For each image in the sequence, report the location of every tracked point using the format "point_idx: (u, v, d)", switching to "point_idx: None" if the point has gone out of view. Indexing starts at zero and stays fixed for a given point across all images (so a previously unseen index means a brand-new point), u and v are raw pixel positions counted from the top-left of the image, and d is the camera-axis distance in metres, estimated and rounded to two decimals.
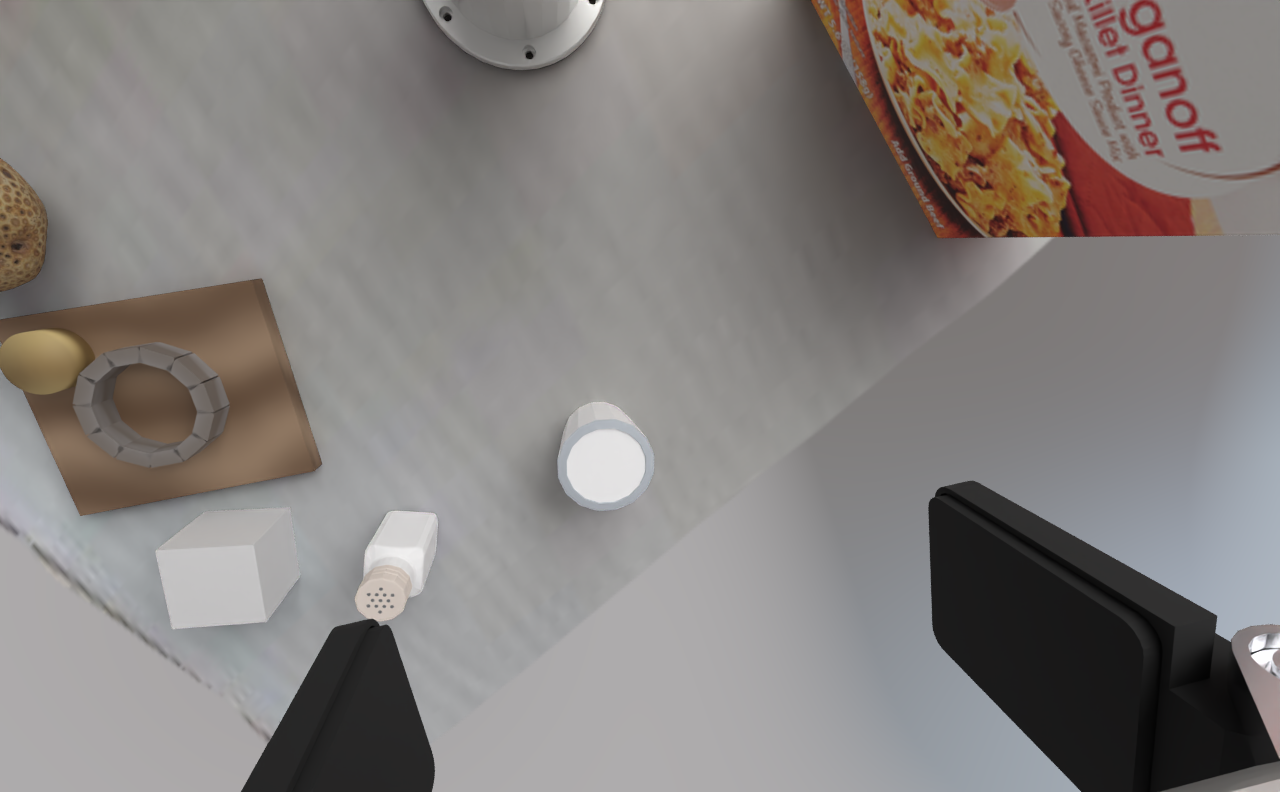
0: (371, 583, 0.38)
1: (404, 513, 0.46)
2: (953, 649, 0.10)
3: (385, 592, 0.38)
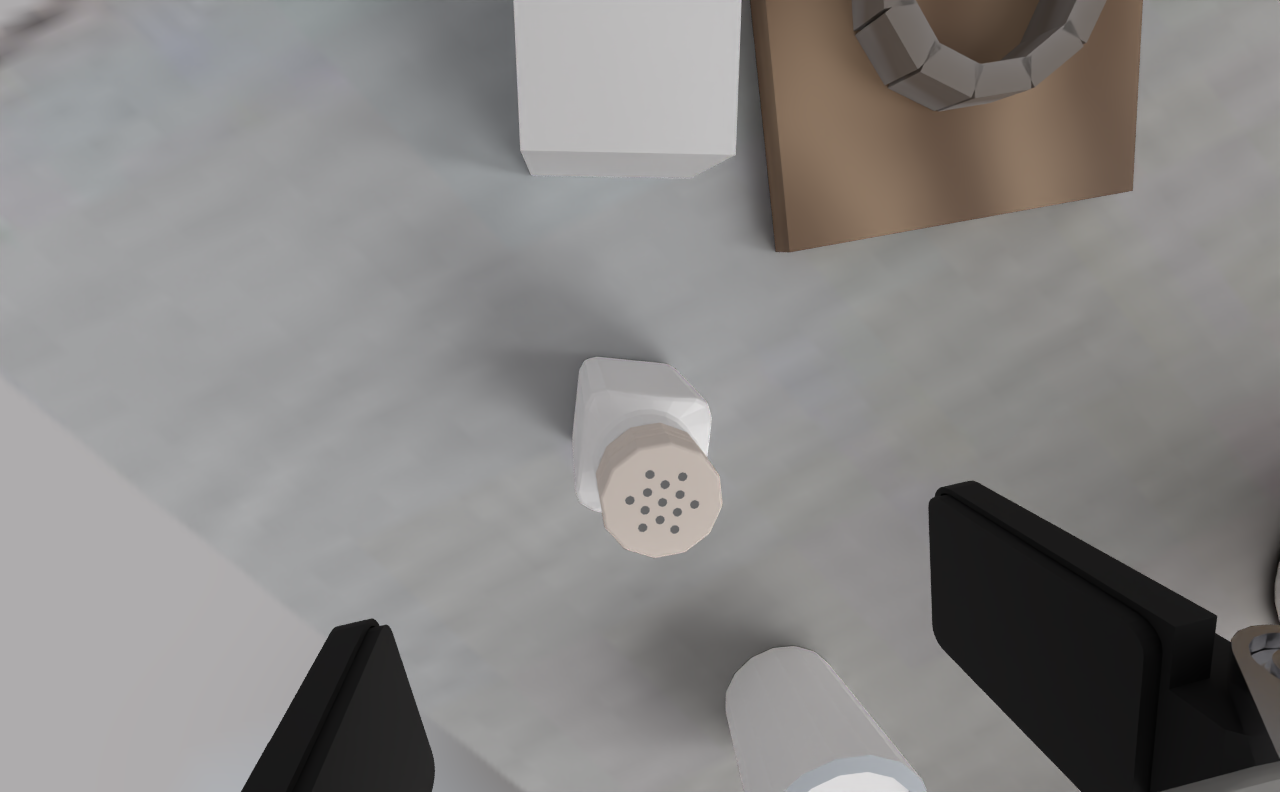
0: (713, 483, 0.15)
1: None
2: (953, 649, 0.10)
3: (684, 514, 0.15)
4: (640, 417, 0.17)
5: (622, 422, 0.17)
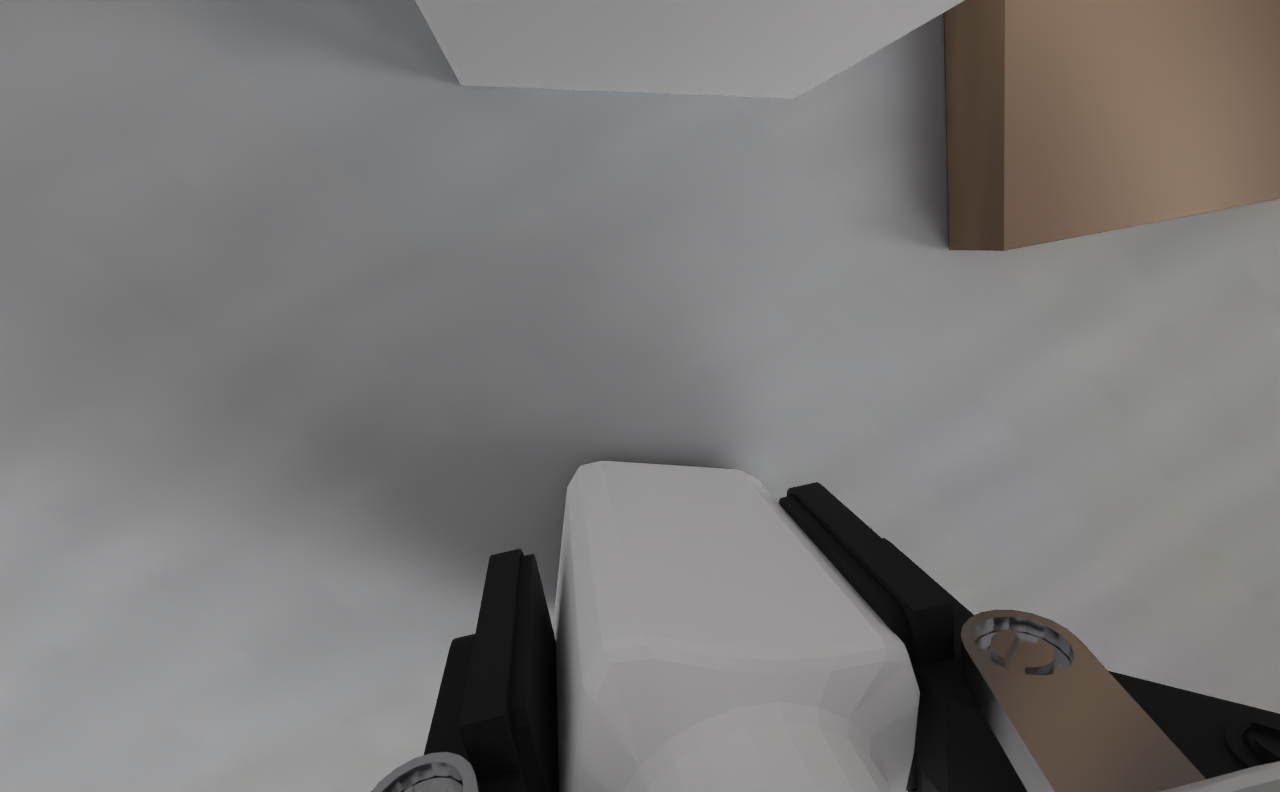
0: None
1: None
2: None
3: None
4: (754, 751, 0.06)
5: (696, 757, 0.06)
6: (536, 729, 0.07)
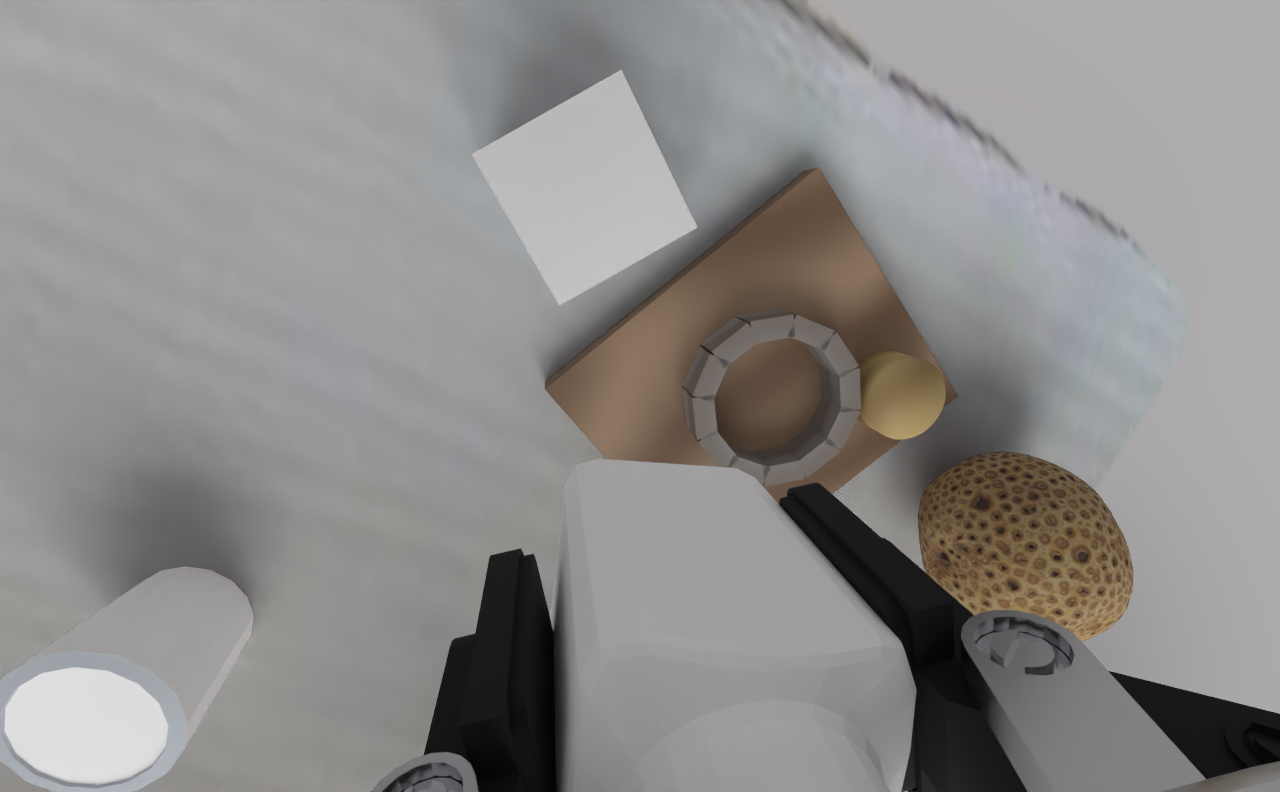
0: None
1: None
2: None
3: None
4: (751, 748, 0.06)
5: (693, 754, 0.06)
6: (536, 729, 0.07)
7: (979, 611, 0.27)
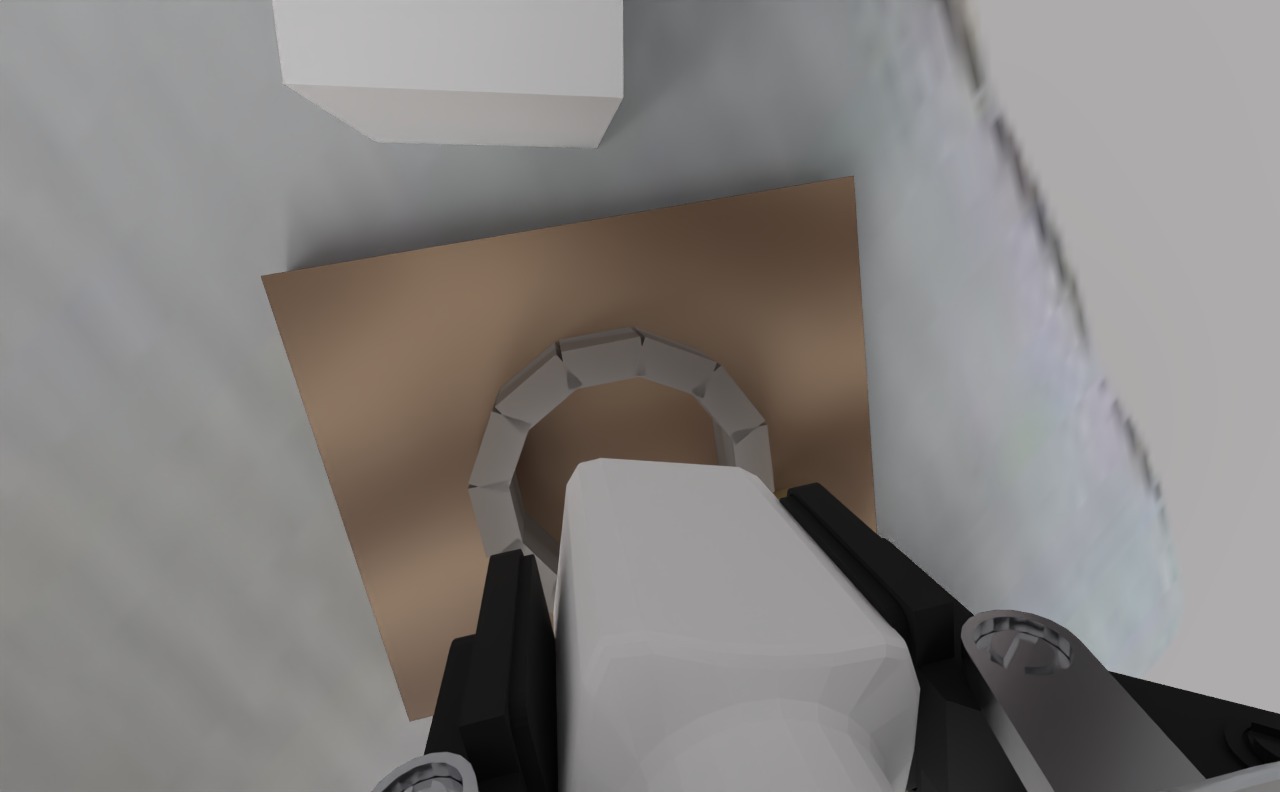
0: None
1: None
2: None
3: None
4: (754, 747, 0.06)
5: (695, 752, 0.06)
6: (536, 729, 0.07)
7: None
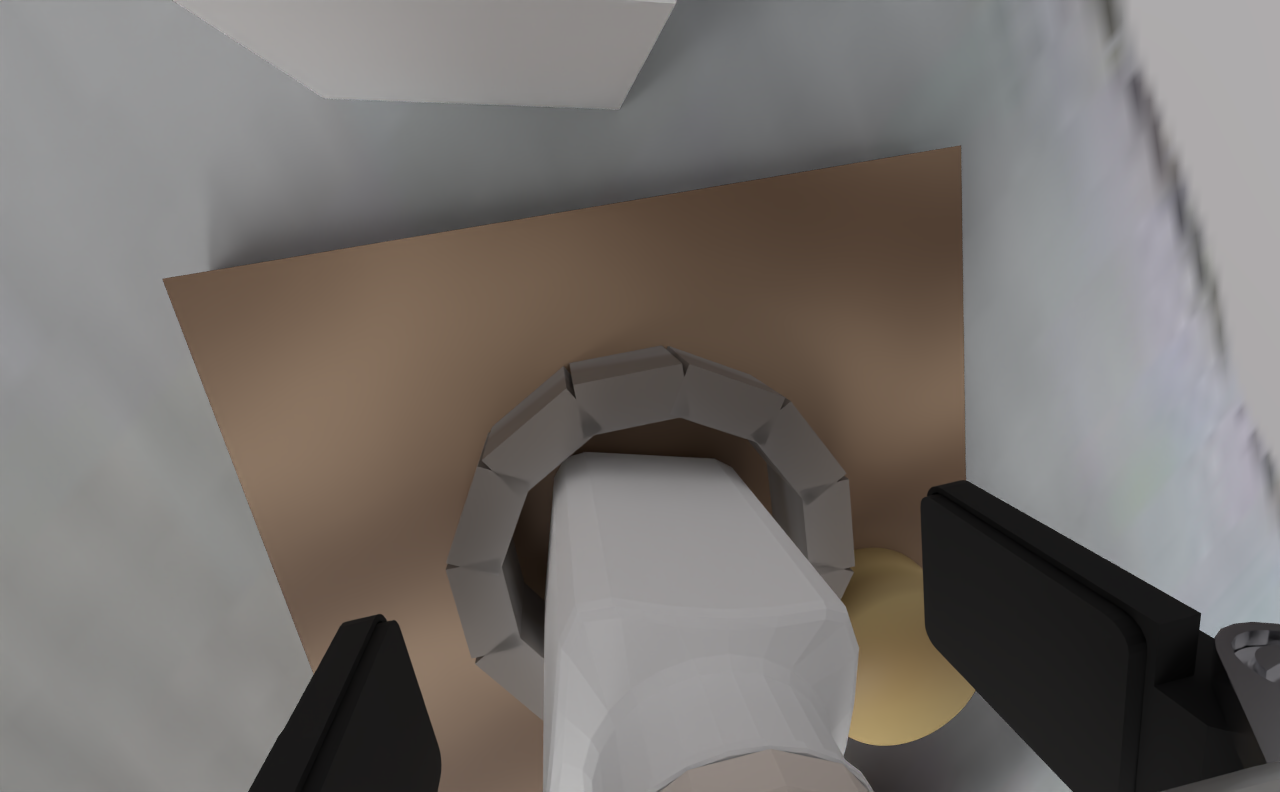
0: None
1: None
2: (945, 648, 0.10)
3: None
4: (704, 693, 0.07)
5: (656, 700, 0.07)
6: None
7: None
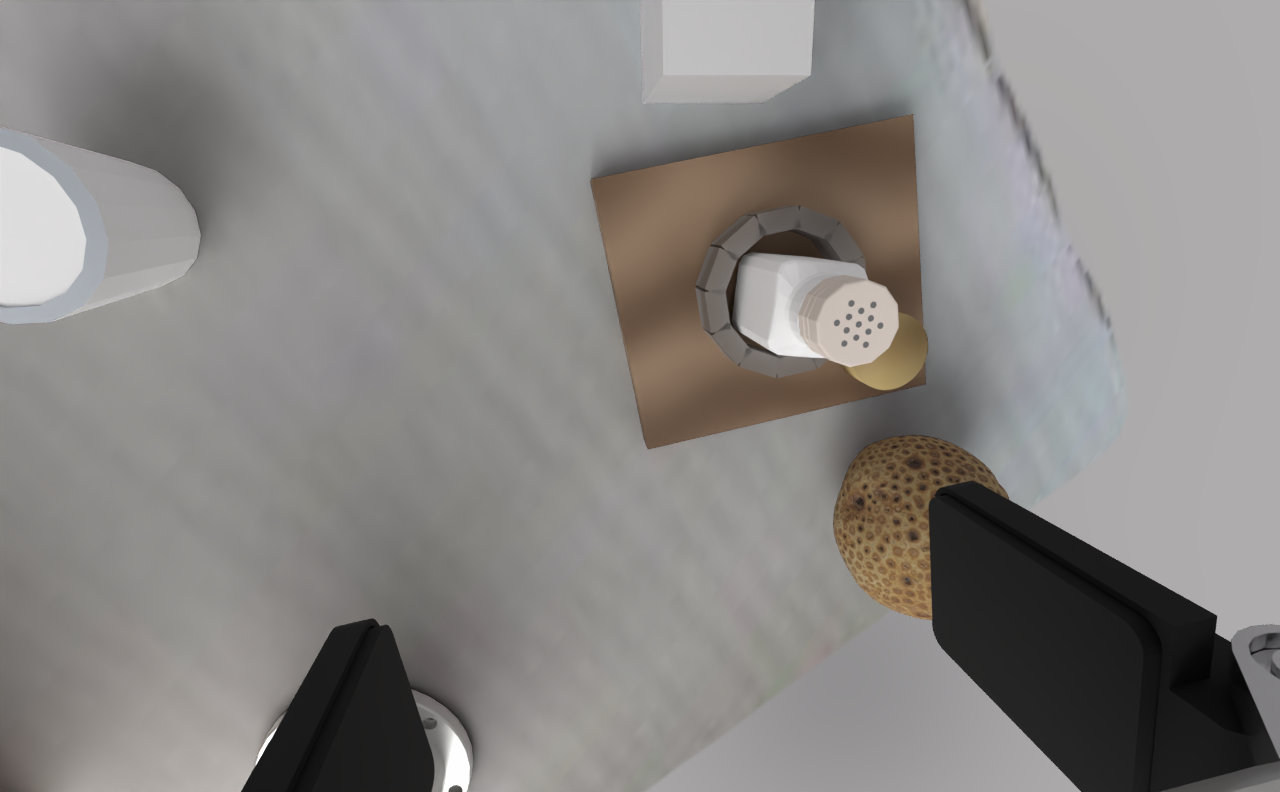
0: (893, 309, 0.21)
1: None
2: (953, 649, 0.10)
3: (872, 333, 0.21)
4: (823, 276, 0.23)
5: (809, 281, 0.23)
6: None
7: (871, 556, 0.29)
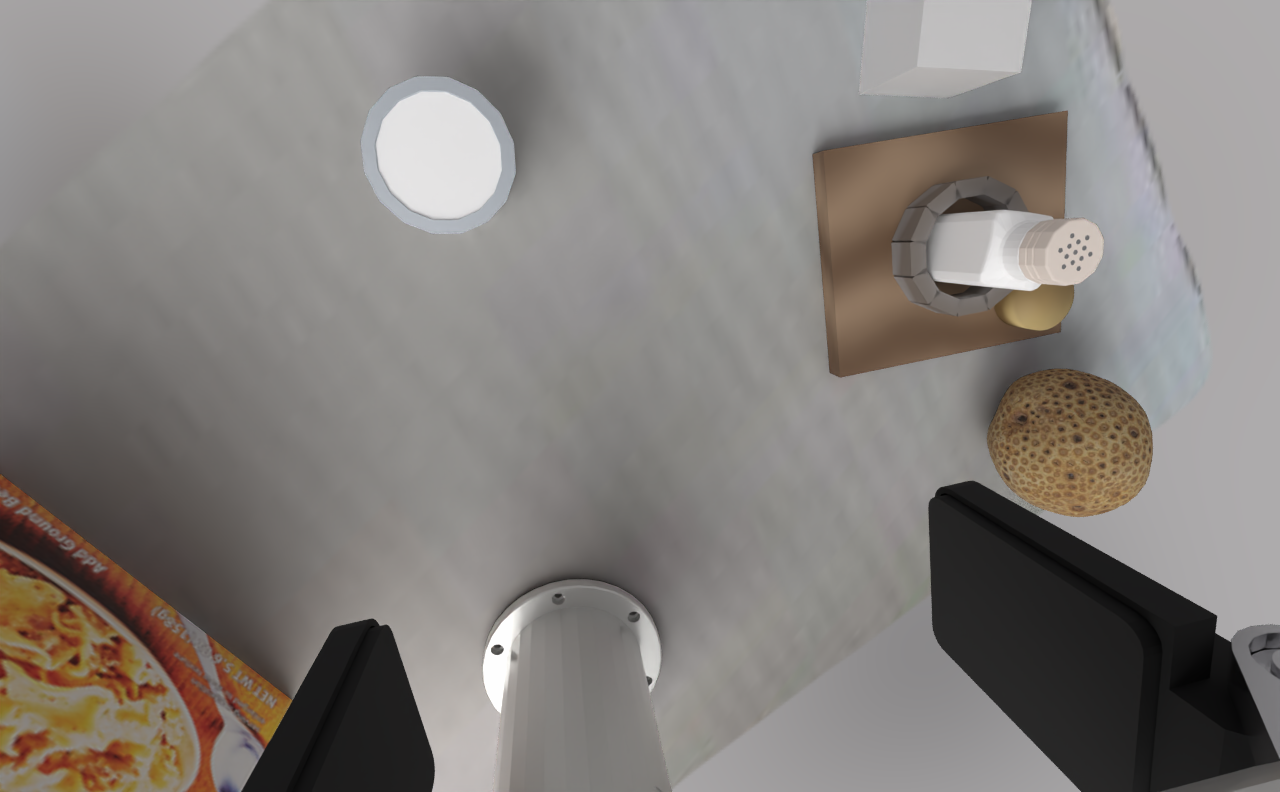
0: (1101, 242, 0.28)
1: None
2: (953, 649, 0.10)
3: (1084, 259, 0.29)
4: (1032, 222, 0.30)
5: (1020, 225, 0.31)
6: None
7: (1036, 459, 0.35)
